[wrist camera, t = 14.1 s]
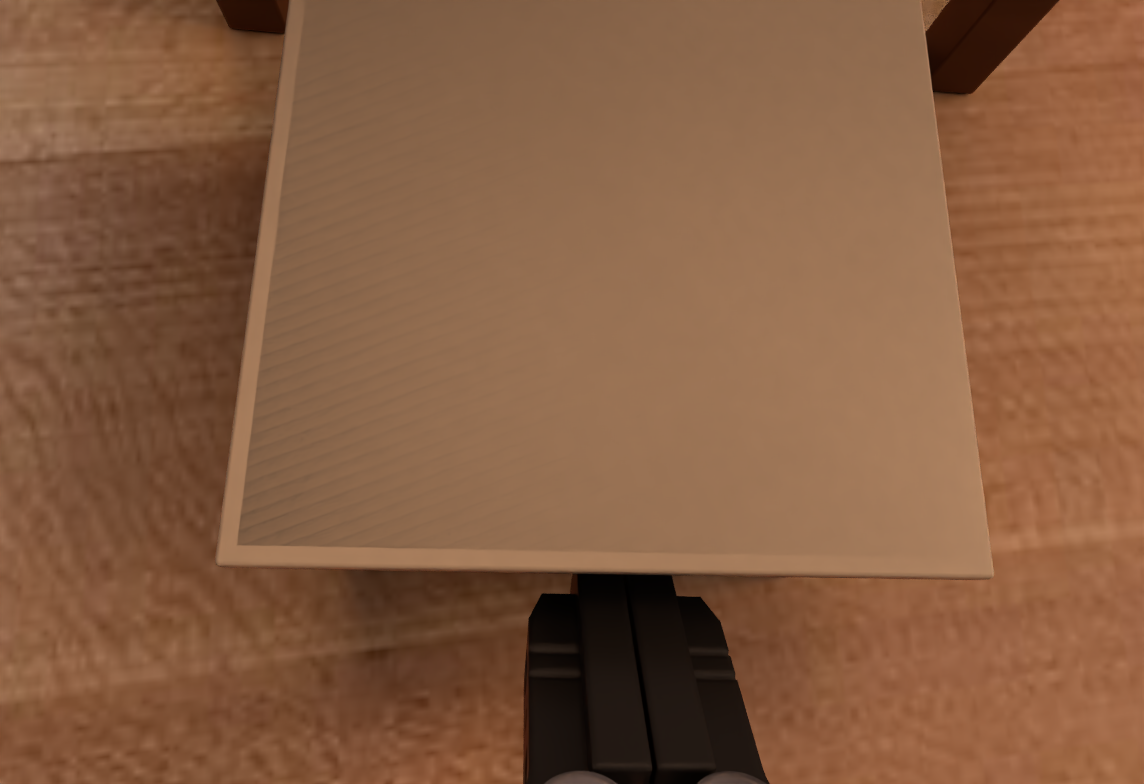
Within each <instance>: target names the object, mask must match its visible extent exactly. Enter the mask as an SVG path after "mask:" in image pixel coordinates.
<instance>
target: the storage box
mask: <svg viewBox="0 0 1144 784" xmlns="http://www.w3.org/2000/svg"><path fill="white" fill-rule="evenodd" d="M215 563H216V565H217V566H220V567H228V568H266V569H327V570H389V571H450V572H512V573H573V574H635V575H696V576H758V577H820V578H881V579H943V580H983V579H991V578H993V576H994V570H993V562H992V554H991V546H990V538H989V530H988V523H987V515H986V507H985V499H984V491H983V483H982V475H981V467H980V460H979V452H978V444H977V436H976V428H975V420H974V412H973V405H972V397H971V389H970V381H969V373H968V365H967V357H966V350H965V342H964V334H963V326H962V318H961V310H960V302H959V294H958V287H957V279H956V271H955V263H954V255H953V247H952V239H951V232H950V224H949V216H948V208H947V200H946V192H945V184H944V177H943V169H942V161H941V153H940V145H939V137H938V129H937V122H936V114H935V106H934V98H933V90H932V82H931V74H930V66H929V59H928V51H927V43H926V35H925V27H924V19H923V11H922V4H921V0H289V5H288V13H287V20H286V28H285V35H284V43H283V50H282V58H281V66H280V73H279V81H278V88H277V96H276V103H275V111H274V118H273V126H272V134H271V141H270V149H269V156H268V164H267V171H266V179H265V186H264V194H263V202H262V209H261V217H260V224H259V232H258V239H257V247H256V254H255V262H254V270H253V277H252V285H251V292H250V300H249V307H248V315H247V322H246V330H245V338H244V345H243V353H242V360H241V368H240V375H239V383H238V390H237V398H236V406H235V413H234V421H233V428H232V436H231V443H230V451H229V458H228V466H227V474H226V481H225V489H224V496H223V504H222V511H221V519H220V526H219V534H218V542H217V549H216V557H215Z"/></svg>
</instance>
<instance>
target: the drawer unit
mask: <svg viewBox="0 0 1144 784" xmlns="http://www.w3.org/2000/svg"><path fill="white" fill-rule="evenodd" d="M216 1H217V3H218V5H219V7H220V9H221V11H222V13H223V15H224V17H225V19H226V21H227V23H228V26H229V27H230V28H233V29H244V30H255V31H266V32H278V33H285V28H286V20H287V13H288V5H289V0H216ZM1058 1H1059V0H950V1H949V2H948V4H947V5H946V6H945V8H944V9H943V10H942V12H941V13H940V14H939V16H938V17H937V18H936V20H935V21H934V22H933V24H932V25H931V26H930V28H929V29H928V30H927V32H926V33H925V35H926V43H927V51H928V59H929V66H930V74H931V82H932V90H933V91H944V92H955V93H966V94H971V93H973V92H974V91H975V90H976V89H977V88H978V87H979V86H980V85H981V83H982V82H983V81H984V80H985V79H986V78H987V77H988V76H989V75H990V74H991V73H992V72H993V71H994V70H995V68H996V67H997V66H998V65H999V64H1000V63H1001V62H1002V61H1003V60H1004V59H1005V58H1006V57H1007V56H1008V55H1009V54H1010V52H1011V51H1012V50H1013V49H1014V48H1015V47H1016V46H1017V45H1018V44H1019V43H1020V42H1021V41H1022V40H1023V39H1024V38H1025V36H1026V35H1027V34H1028V33H1029V32H1030V31H1031V30H1032V29H1033V28H1034V27H1035V26H1036V25H1037V24H1038V23H1039V21H1040V20H1041V19H1042V18H1043V17H1044V16H1045V15H1046V14H1047V13H1048V12H1049V11H1050V10H1051V9H1052V8H1053V7H1054V5H1055V4H1056V3H1057V2H1058Z"/></svg>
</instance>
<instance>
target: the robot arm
mask: <svg viewBox="0 0 1144 784" xmlns="http://www.w3.org/2000/svg"><path fill="white" fill-rule="evenodd" d="M728 651H729V650H728V647H727V643H726V640H725V637H724V633H723V630H722V626H721V623H720V621H719V620H718V618H717V617H716V616H715V615H714V613H713V612H712V611H711V610H710V608H709V607H708V606H707V605H706V603H705V602H704V601H703V600H702V598H701V597H686V596H676V592H675V588H674V583H673V579H672V575H635V574H573V573H572V581H571V591H570V594H546V593H542V594H541V596H540V598H539V600H538V602H537V604H536V606H535V607H534V609H533V611H532V613H531V615H530V617H529V621H528V635H527V649H526V662H525V676H524V757H523V784H769V782H768V780H767V778H766V776H765V773H764V771H763V768H762V764H761V761H760V758H759V754H758V751H757V747H756V744H755V740H754V737H753V733H752V730H751V726H750V723H749V719H748V716H747V713H746V709H745V706H744V702H743V699H742V695H741V692H740V688H739V685H738V681H737V680H736V679H735V671H734V668H733V664H732V661H731V657H730V656H729V655H728Z"/></svg>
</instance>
